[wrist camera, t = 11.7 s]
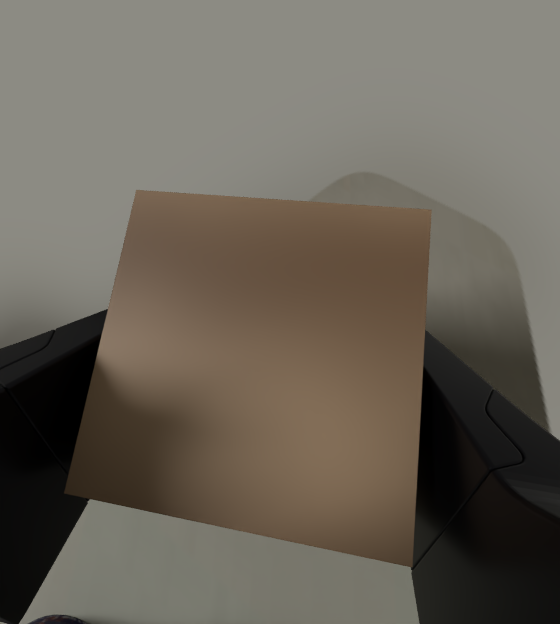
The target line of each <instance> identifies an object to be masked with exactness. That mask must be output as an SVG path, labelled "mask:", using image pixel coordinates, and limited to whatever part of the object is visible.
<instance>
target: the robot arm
mask: <svg viewBox="0 0 560 624" xmlns="http://www.w3.org/2000/svg"><path fill="white" fill-rule="evenodd" d="M107 311H108V309H106V310H104V311H101V312H99V313H96V314H93V315H91V316H88V317H85V318H83V319H80V320H77V321H75V322H72V323H70V324H67V325H64V326H62V327H59V328H57V329H56V330H51V331H48V332H46V333H43V334H41V335H38V336H35V337H33V338H30V339H27V340H24V341H21V342H19V343H16V344H13V345H10V346H7V347H4V348H1V349H0V622H4V623H7V624H19V622H20V621H21V619H22V618H23V616H24V615H25V613H26V611H27V610H28V608H29V606H30V604H31V603H32V601H33V599H34V597H35V596H36V594H37V592H38V590H39V588H40V587H41V585H42V583H43V581H44V580H45V578H46V576H47V574H48V573H49V571H50V569H51V567H52V565H53V564H54V562H55V560H56V558H57V557H58V555H59V553H60V551H61V550H62V548H63V546H64V544H65V543H66V541H67V539H68V537H69V535H70V534H71V532H72V530H73V528H74V527H75V525H76V523H77V521H78V520H79V518H80V516H81V514H82V512H83V511H84V509H85V507H86V505H87V504H88V502H87V501H89V500H90V499H88V498H83V497H79V496H74V495H69V494H64V491H65V487H66V483H67V479H68V475H69V470H70V466H71V462H72V458H73V454H74V450H75V445H76V441H77V437H78V433H79V429H80V424H81V420H82V416H83V412H84V408H85V403H86V399H87V395H88V391H89V387H90V382H91V378H92V374H93V370H94V366H95V361H96V357H97V353H98V349H99V345H100V340H101V336H102V332H103V328H104V324H105V319H106V315H107ZM411 570H412V580H413V586H414V592H415V598H416V604H417V611H418V617H419V623H420V624H560V441H559V440H558V439H557V438H556V437H554V436H553V435H552V434H550V433H549V432H548V431H546V430H545V429H544V428H542V427H541V426H540V425H539V424H537V423H536V422H535V421H533V420H532V419H531V418H529V417H528V416H527V415H526V414H525V413H523V412H522V411H521V410H520V409H518V408H517V407H516V406H515V405H514V404H512V403H511V402H510V401H509V400H507V399H506V398H505V397H504V396H503V395H502V394H500V393H499V392H498V391H497V390H493V387H492V386H491V385H490V384H488V383H487V382H486V381H485V380H484V379H483V378H481V377H480V376H479V375H478V374H477V373H476V372H474V371H473V370H472V369H471V368H470V367H468V366H467V365H466V364H465V363H464V362H463V361H461V360H460V359H459V358H458V357H457V356H456V355H454V354H453V353H452V352H451V351H450V350H448V349H447V348H446V347H445V346H444V345H443V344H441V343H440V342H439V341H438V340H437V339H436V338H434V337H433V336H432V335H431V334H430V333H428V332H427V331H426V330H425V340H424V359H423V378H422V397H421V415H420V434H419V453H418V471H417V490H416V509H415V528H414V546H413V565H412V567H411Z"/></svg>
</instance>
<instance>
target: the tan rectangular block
mask: <svg viewBox="0 0 560 624" xmlns="http://www.w3.org/2000/svg"><path fill="white" fill-rule="evenodd" d="M430 228H431V210H427V209H412V208H397V207H382V206H367V205H352V204H337V203H322V202H307V201H293V200H278V199H263V198H248V197H232V196H218V195H203V194H186V193H173V192H158V191H143V190H136V194H135V198H134V202H133V206H132V210H131V215H130V219H129V223H128V227H127V231H126V236H125V240H124V244H123V249H122V252H121V257H120V261H119V265H118V269H117V274H116V278H115V282H114V286H113V290H112V294H111V299H110V303H109V307H108V311H107V315H106V319H105V324H104V328H103V332H102V336H101V340H100V345H99V349H98V353H97V357H96V361H95V366H94V370H93V374H92V378H91V382H90V387H89V391H88V395H87V399H86V403H85V408H84V412H83V416H82V420H81V424H80V429H79V433H78V437H77V441H76V445H75V450H74V454H73V458H72V462H71V466H70V470H69V475H68V479H67V483H66V487H65V491H64V494H69V495H74V496H79V497H83V498H88V499H93V500H97V501H102V502H107V503H112V504H116V505H121V506H126V507H130V508H135V509H140V510H144V511H149V512H154V513H159V514H163V515H168V516H173V517H177V518H182V519H187V520H192V521H196V522H201V523H206V524H210V525H215V526H220V527H225V528H229V529H234V530H239V531H243V532H248V533H253V534H257V535H262V536H267V537H272V538H276V539H281V540H286V541H290V542H295V543H300V544H305V545H309V546H314V547H319V548H323V549H328V550H333V551H338V552H342V553H347V554H352V555H356V556H361V557H366V558H370V559H375V560H380V561H385V562H389V563H394V564H399V565H403V566H408V567H412V565H413V546H414V528H415V509H416V490H417V471H418V453H419V434H420V415H421V397H422V378H423V359H424V340H425V322H426V303H427V284H428V266H429V247H430Z"/></svg>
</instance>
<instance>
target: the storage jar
mask: <svg viewBox="0 0 560 624" xmlns="http://www.w3.org/2000/svg"><path fill="white" fill-rule="evenodd" d="M29 624H87V623H85V622H84V621H81V620H79V619H77V618H75V617H71V616H67V615H50V616H44V617H42V618H39V619H36V620H34V621H32V622H30V623H29Z"/></svg>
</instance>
